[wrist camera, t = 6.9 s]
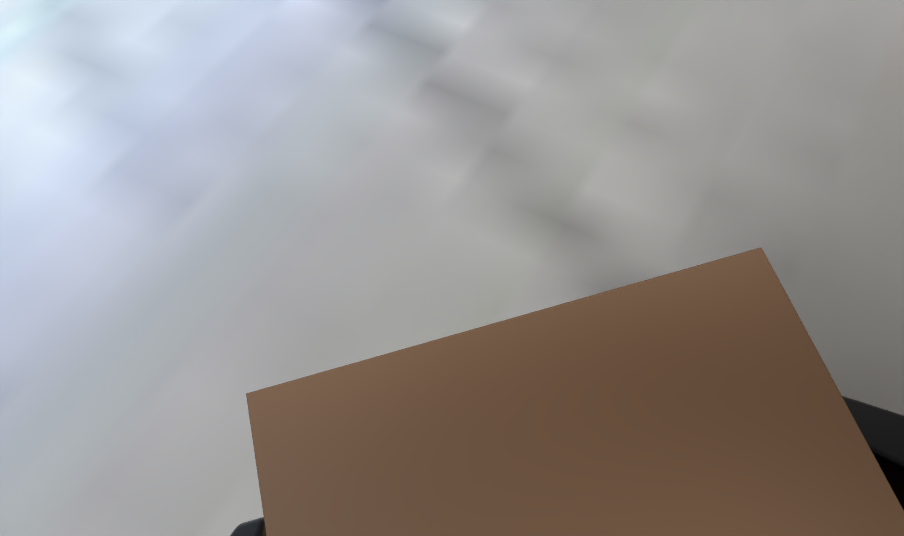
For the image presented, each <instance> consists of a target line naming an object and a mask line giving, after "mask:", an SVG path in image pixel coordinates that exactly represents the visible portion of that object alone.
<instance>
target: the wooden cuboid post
mask: <svg viewBox="0 0 904 536" xmlns="http://www.w3.org/2000/svg"><path fill="white" fill-rule="evenodd" d="M246 396H247V403H248V410H249V417H250V424H251V431H252V438H253V445H254V452H255V459H256V466H257V473H258V479H259V486H260V493H261V500H262V507H263V514H264V521H265V528H266V535H267V536H904V510H903V509H902V507H901V505H900V503H899V501H898V499H897V497H896V496H895V494H894V492H893V490H892V488H891V486H890V484H889V483H888V481H887V479H886V477H885V475H884V473H883V472H882V470H881V468H880V466H879V464H878V462H877V460H876V459H875V457H874V455H873V453H872V451H871V449H870V448H869V446H868V444H867V442H866V440H865V438H864V436H863V435H862V433H861V431H860V429H859V427H858V425H857V423H856V422H855V420H854V418H853V416H852V414H851V412H850V411H849V409H848V407H847V405H846V403H845V401H844V399H843V398H842V396H841V394H840V392H839V390H838V388H837V386H836V385H835V383H834V381H833V379H832V377H831V375H830V374H829V372H828V370H827V368H826V366H825V364H824V362H823V361H822V359H821V357H820V355H819V353H818V351H817V349H816V348H815V346H814V344H813V342H812V340H811V338H810V337H809V335H808V333H807V331H806V329H805V327H804V325H803V324H802V322H801V320H800V318H799V316H798V314H797V312H796V311H795V309H794V307H793V305H792V303H791V301H790V300H789V298H788V296H787V294H786V292H785V290H784V288H783V287H782V285H781V283H780V281H779V279H778V277H777V276H776V274H775V272H774V270H773V268H772V266H771V264H770V263H769V261H768V259H767V257H766V255H765V253H764V251H763V250H762V248H758V249H754V250H751V251H747V252H744V253H740V254H737V255H733V256H730V257H726V258H723V259H719V260H715V261H712V262H708V263H705V264H701V265H698V266H694V267H691V268H687V269H684V270H680V271H677V272H673V273H670V274H666V275H663V276H659V277H656V278H652V279H649V280H645V281H641V282H638V283H634V284H631V285H627V286H624V287H620V288H617V289H613V290H610V291H606V292H603V293H599V294H596V295H592V296H589V297H585V298H582V299H578V300H575V301H571V302H567V303H564V304H560V305H557V306H553V307H550V308H546V309H543V310H539V311H536V312H532V313H529V314H525V315H522V316H518V317H515V318H511V319H508V320H504V321H501V322H497V323H493V324H490V325H486V326H483V327H479V328H476V329H472V330H469V331H465V332H462V333H458V334H455V335H451V336H448V337H444V338H441V339H437V340H434V341H430V342H427V343H423V344H419V345H416V346H412V347H409V348H405V349H402V350H398V351H395V352H391V353H388V354H384V355H381V356H377V357H374V358H370V359H367V360H363V361H360V362H356V363H353V364H349V365H345V366H342V367H338V368H335V369H331V370H328V371H324V372H321V373H317V374H314V375H310V376H307V377H303V378H300V379H296V380H293V381H289V382H286V383H282V384H279V385H275V386H271V387H268V388H264V389H261V390H257V391H254V392H250V393H247V394H246Z"/></svg>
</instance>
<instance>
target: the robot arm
mask: <svg viewBox="0 0 904 536" xmlns="http://www.w3.org/2000/svg"><path fill="white" fill-rule="evenodd" d="M842 398H843V399H844V401H845V403H846V405H847V407H848V409H849V411H850V412H851V414H852V416H853V418H854V420H855V422H856V423H857V425H858V427H859V429H860V431H861V433H862V435H863V436H864V438H865V440H866V442H867V444H868V446H869V448H870V449H871V451H872V453H873V455H874V457H875V459H876V460H877V462H878V464H879V466H880V468H881V470H882V472H883V473H884V475H885V477H886V479H887V481H888V483H889V484H890V486H891V488H892V490H893V492H894V494H895V496H896V497H897V499H898V501H899V503H900V505H901V507H902V509H903V510H904V416H903V415H900V414H897V413H894V412H891V411H888V410H884V409H881V408H878V407H875V406H872V405H869V404H866V403H863V402H859V401H856V400H853V399H850V398H847V397H844V396H842ZM230 536H267V535H266V528H265V521H264V517H262V518H258V519H255V520H252V521H248V522H245V523H242V524H240V525H239V526H237V527H236V529H235V530H234V531H233V533H232V534H231V535H230Z"/></svg>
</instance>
